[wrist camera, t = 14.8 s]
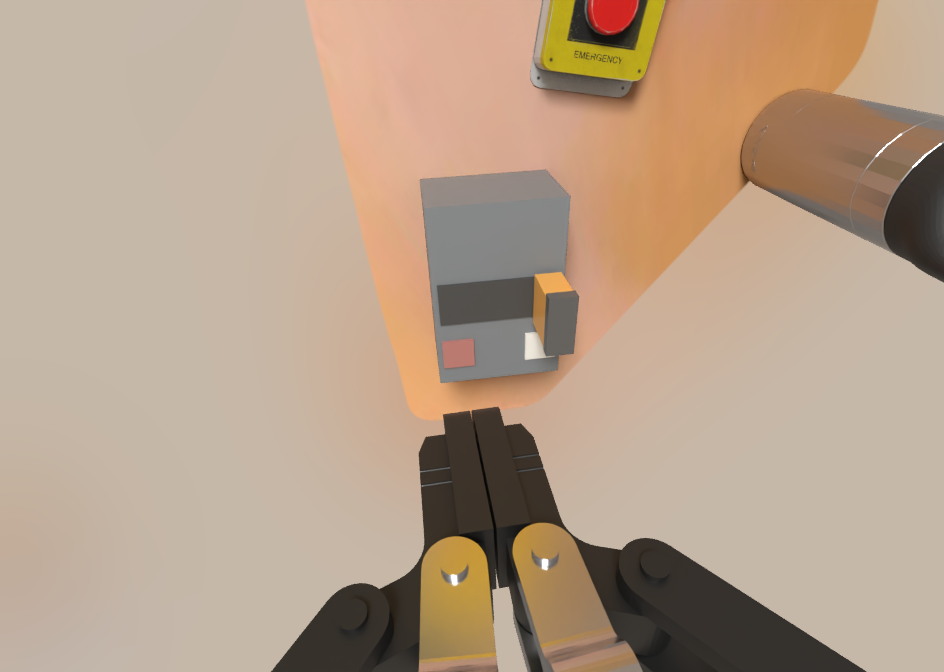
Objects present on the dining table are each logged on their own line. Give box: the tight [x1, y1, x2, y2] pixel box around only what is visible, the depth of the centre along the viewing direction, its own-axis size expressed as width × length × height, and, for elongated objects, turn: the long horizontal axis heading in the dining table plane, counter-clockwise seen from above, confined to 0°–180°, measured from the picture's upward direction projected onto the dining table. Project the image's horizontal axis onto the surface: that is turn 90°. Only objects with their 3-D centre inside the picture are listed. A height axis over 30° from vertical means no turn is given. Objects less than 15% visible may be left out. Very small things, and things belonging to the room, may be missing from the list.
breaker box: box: [420, 170, 571, 383], centre depth 48 cm, size 12×18×8 cm, turn 2°
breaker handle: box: [533, 272, 579, 357], centre depth 42 cm, size 2×6×5 cm, turn 2°
